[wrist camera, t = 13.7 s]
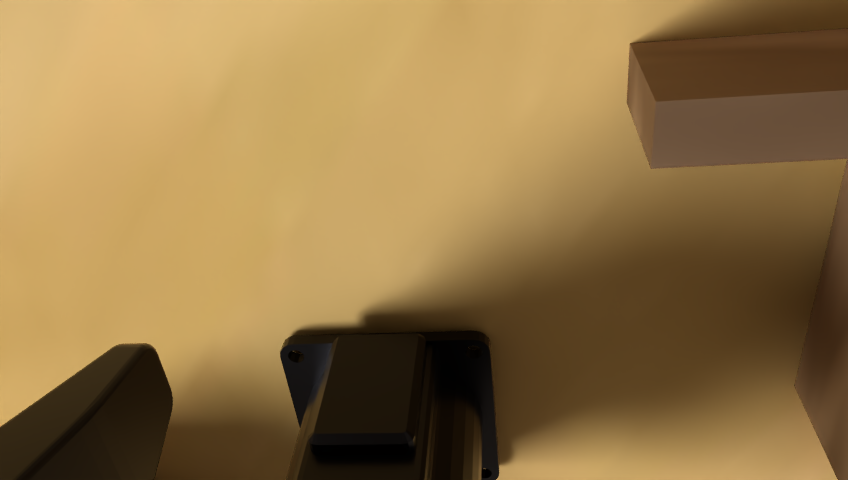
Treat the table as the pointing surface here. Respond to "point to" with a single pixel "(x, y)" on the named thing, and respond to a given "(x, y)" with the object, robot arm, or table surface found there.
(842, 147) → the brown angular piece
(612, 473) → the table surface
